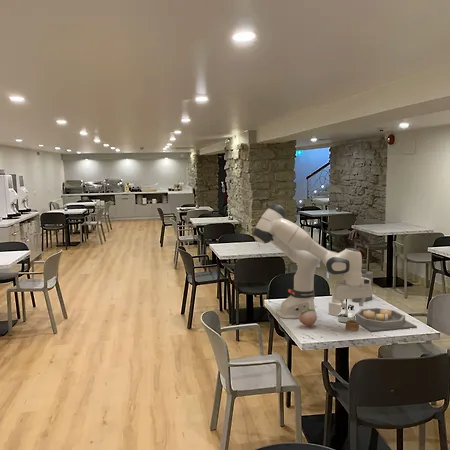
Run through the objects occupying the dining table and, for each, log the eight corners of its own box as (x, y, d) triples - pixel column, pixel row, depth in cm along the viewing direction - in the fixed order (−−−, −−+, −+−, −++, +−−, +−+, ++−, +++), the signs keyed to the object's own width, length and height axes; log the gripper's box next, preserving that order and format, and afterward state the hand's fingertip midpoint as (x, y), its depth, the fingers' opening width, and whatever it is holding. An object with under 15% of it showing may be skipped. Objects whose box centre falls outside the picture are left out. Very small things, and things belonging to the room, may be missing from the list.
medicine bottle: (335, 311, 261) (335, 291, 259) (346, 314, 256) (346, 293, 254) (328, 314, 256) (328, 293, 254) (339, 317, 251) (339, 296, 249)
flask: (357, 303, 277) (358, 271, 275) (350, 301, 282) (351, 269, 280) (375, 299, 284) (375, 268, 282) (368, 297, 289) (368, 267, 287)
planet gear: (349, 332, 227) (349, 324, 226) (343, 327, 233) (343, 320, 233) (360, 330, 228) (360, 323, 228) (354, 326, 234) (354, 319, 234)
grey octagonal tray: (370, 332, 226) (370, 320, 226) (346, 316, 251) (346, 306, 251) (416, 328, 232) (417, 316, 231) (388, 313, 257) (388, 302, 256)
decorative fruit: (308, 330, 229) (308, 311, 228) (296, 326, 236) (296, 308, 235) (320, 327, 235) (320, 308, 234) (309, 323, 241) (309, 304, 240)
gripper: (336, 282, 222) (336, 310, 224) (374, 280, 226) (373, 306, 228) (330, 280, 229) (330, 306, 230) (367, 277, 232) (367, 303, 234)
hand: (352, 306), depth 229 cm, fingers open, 8 cm apart
